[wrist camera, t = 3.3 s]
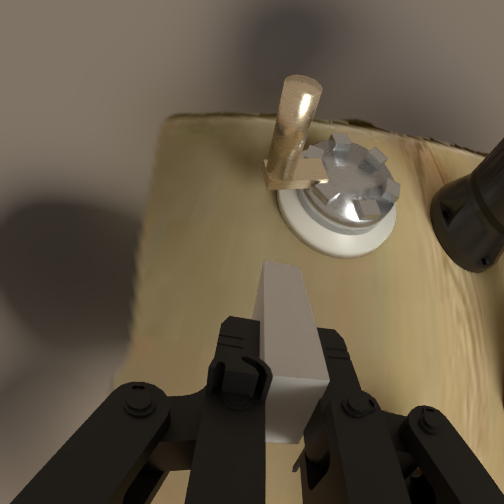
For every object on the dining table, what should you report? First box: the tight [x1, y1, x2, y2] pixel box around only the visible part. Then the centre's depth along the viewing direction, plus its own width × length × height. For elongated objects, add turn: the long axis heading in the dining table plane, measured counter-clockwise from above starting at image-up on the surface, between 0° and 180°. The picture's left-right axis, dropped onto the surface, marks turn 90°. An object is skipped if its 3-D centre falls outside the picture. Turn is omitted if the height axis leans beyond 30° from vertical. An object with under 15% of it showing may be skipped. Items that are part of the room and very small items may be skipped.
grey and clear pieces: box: [262, 75, 400, 235], centre depth 29 cm, size 16×12×16 cm
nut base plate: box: [277, 150, 396, 259], centre depth 37 cm, size 16×16×2 cm
